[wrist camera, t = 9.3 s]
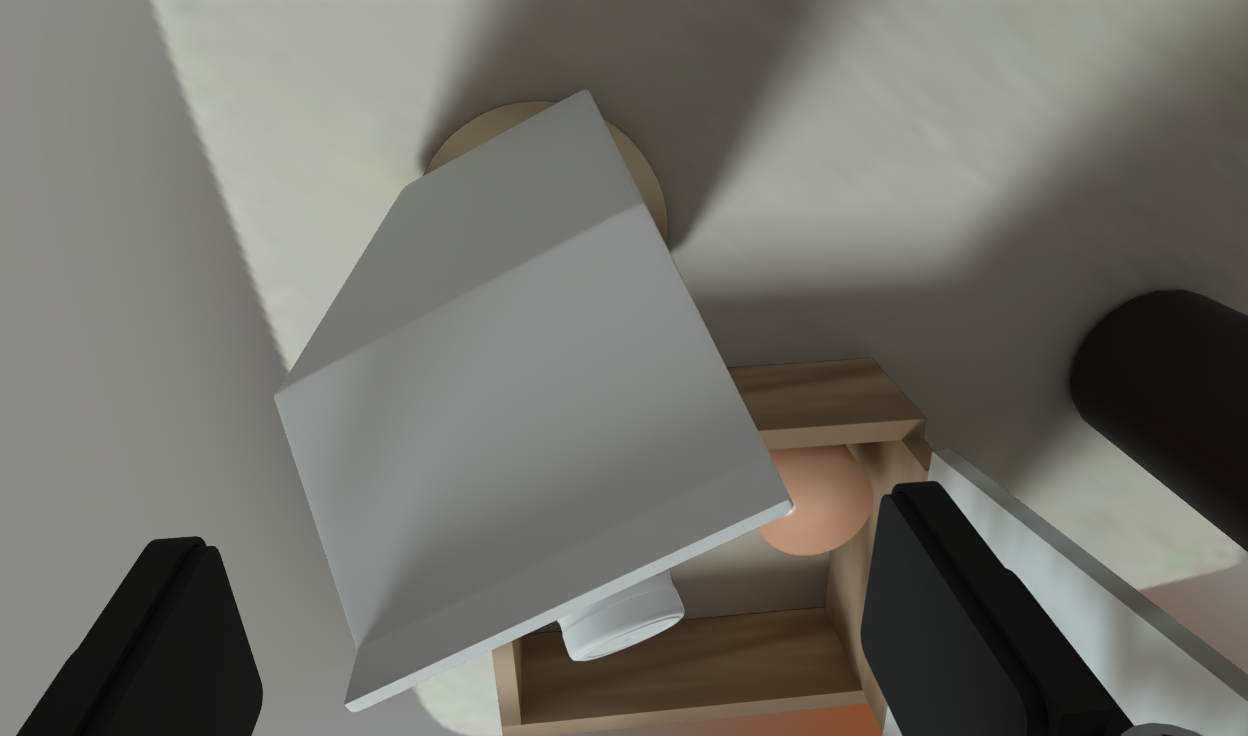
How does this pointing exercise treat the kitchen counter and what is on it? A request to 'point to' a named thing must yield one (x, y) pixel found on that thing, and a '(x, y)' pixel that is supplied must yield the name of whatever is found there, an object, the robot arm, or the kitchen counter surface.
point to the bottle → (1175, 398)
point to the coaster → (516, 113)
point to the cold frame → (830, 636)
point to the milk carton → (518, 414)
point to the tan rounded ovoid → (819, 499)
